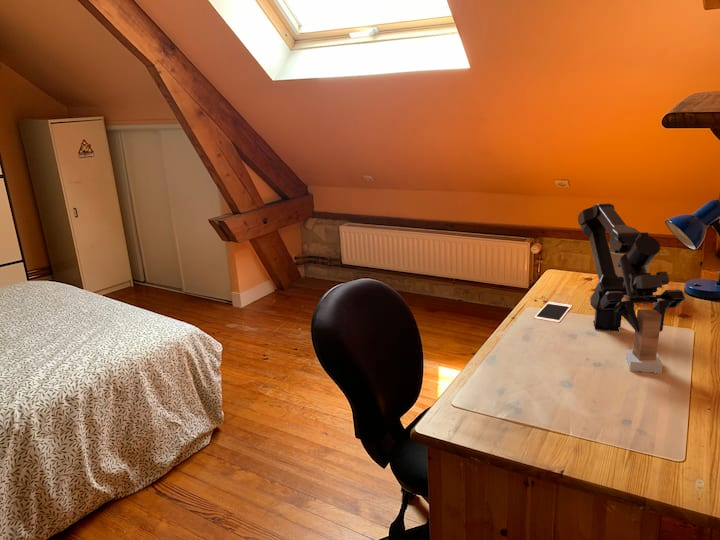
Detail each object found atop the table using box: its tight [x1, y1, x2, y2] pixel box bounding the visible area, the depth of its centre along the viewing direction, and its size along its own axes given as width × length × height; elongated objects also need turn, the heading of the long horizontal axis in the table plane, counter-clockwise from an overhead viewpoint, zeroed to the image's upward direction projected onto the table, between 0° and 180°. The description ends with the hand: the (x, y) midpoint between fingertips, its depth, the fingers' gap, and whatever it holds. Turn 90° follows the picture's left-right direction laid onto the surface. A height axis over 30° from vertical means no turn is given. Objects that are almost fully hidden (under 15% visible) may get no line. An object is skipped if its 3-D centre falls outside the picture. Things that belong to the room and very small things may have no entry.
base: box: [625, 349, 663, 374], centre depth 139 cm, size 7×7×2 cm
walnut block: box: [632, 308, 662, 360], centre depth 137 cm, size 4×4×12 cm
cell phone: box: [533, 301, 573, 323], centre depth 176 cm, size 8×16×1 cm, turn 146°
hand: (649, 331), depth 135 cm, fingers open, 5 cm apart
